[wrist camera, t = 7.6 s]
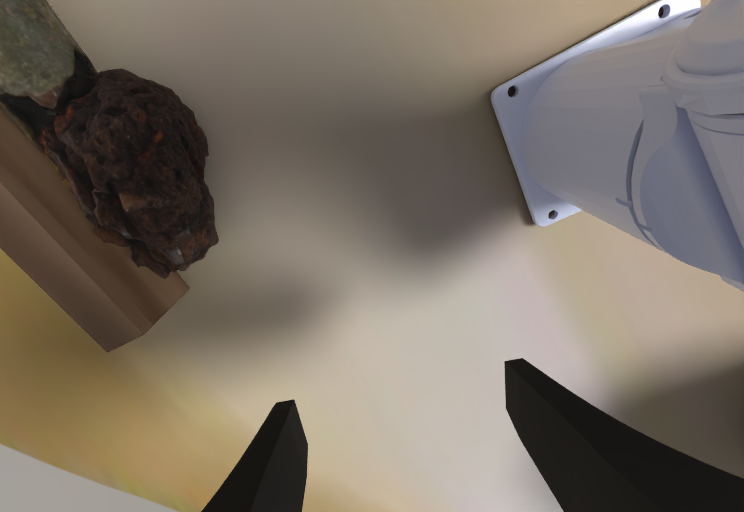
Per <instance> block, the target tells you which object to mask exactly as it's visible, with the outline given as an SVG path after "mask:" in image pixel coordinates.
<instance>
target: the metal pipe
mask: <svg viewBox="0 0 744 512" xmlns="http://www.w3.org/2000/svg"><path fill="white" fill-rule="evenodd" d="M0 108H1V109H2V110H3V111H4V112H5V113H6V115H7V116H8V117H9V118H10V119H11V120H12V121H13V122H14V123H15V124H16V125H17V126H18V127H19V128H20V130H21V131H22V132H23V133H24V134H25V135H26V136H27V137H28V138H29V139H30V141H31V142H32V143H33V144H34V145H35V146H36V147H37V148H38V149H39V150H40V151H41V153H42V154H44V155H45V156H46V157H47V158H48V159H49V160H50V162H51V163H52V164H53V165H54V167H55V169H56V171H57V173H58V175H59V177H60V178H61V180H62V182H63V184H64V185H65V186H66V187H67V189H68V190H69V191H70V192H71V193H72V194H73V195H74V196H75V197H76V199H77V201H78V203H79V206H80V209H81V210H83V211H85V212H86V213H87V215H86V218H87V219H88V220H89V221H90V222H91V223H93V224H94V225H95V226H94V229H93V231H92V233H93V234H95V235H96V236H97V237H99V238H100V239H101V240H102V241H103V242H104V243H111V244H115V245H117V246H120V247H130V250H131V251H132V254H131V259H132V261H133V262H134V263H135V264H136V265H137V267H138V268H139V267H140V266H145V267H147V268H149V269H150V270H151V271H153V272H154V273H155V274H157V275H158V276H160V277H162V278H164V279H166V278H167V277H168V276H169V274H170V272H171V271H172V272H174V273H175V272H176V271H177V270H180V271H185V270H186V269H187V268H188V267H189V266H190V265H191V264H192V263H194V262H196V261H199V260H201V259H203V258H204V257H205V254H206V252H207V251H208V249H209V248H210V247H211V246H213V245H215V244H217V243H218V240H219V239H218V235H217V232H216V229H215V224H214V222H215V217H214V201H213V198H212V196H211V195H210V193H209V189H208V186H207V185H206V184H205V182H204V167H205V157H206V156H208V155H209V154H208V145H207V139H206V136H205V134H204V132H203V130H202V129H201V128H200V127H199V126H198V125H197V122H196V120H195V116H194V113H193V111H192V110H190V109H189V108H188V107H187V106H186V105H184V104H183V103H182V102H181V100H180V98H179V96H177V95H176V94H175V93H174V92H173V91H172V90H171V89H169V88H167V87H165V86H162V85H159V84H157V83H155V82H154V81H150V80H145V79H143V78H140V77H138V76H137V75H135V74H133V73H131V72H129V71H127V70H124V69H114V70H107V71H103V72H100V73H98V72H96V70H95V68H94V67H93V65H92V63H91V61H90V60H89V58H88V57H87V56H86V54H85V53H84V52H83V50H82V49H81V48H80V46H79V45H78V44H77V42H76V41H75V40H74V38H73V37H72V36H71V34H70V33H69V32H68V30H67V29H66V28H65V26H64V25H63V24H62V22H61V21H60V19H59V18H58V17H57V15H56V14H55V12H54V11H53V9H52V8H51V6H50V5H49V4H48V2H47V1H46V0H0Z"/></svg>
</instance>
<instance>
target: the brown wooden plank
mask: <svg viewBox="0 0 744 512" xmlns="http://www.w3.org/2000/svg"><path fill="white" fill-rule="evenodd" d="M86 215H87V213H86V212H85V211H83V210H81V209H80V206H79V203H78V201H77V199H76V197H75V196H74V195H73V194H72V193H71V192H70V191H69V190H68V189H67V187H66V186H65V185H64V184H63V182H62V180H61V178H60V177H59V175H58V173H57V171H56V169H55V167H54V165H53V164H52V163H51V162H50V160H49V159H48V158H47V157H46V156H45V155H44V154H42V153H41V151H40V150H39V149H38V148H37V147H36V146H35V145H34V144H33V143H32V142H31V141H30V139H29V138H28V137H27V136H26V135H25V134H24V133H23V132H22V131H21V130H20V128H19V127H18V126H17V125H16V124H15V123H14V122H13V121H12V120H11V119H10V118H9V117H8V116H7V115H6V113H5V112H4V111H3V110H2V109H1V108H0V248H1V249H2V250H3V251H4V252H5V253H6V254H7V255H8V256H9V257H10V258H11V259H12V260H13V261H14V262H15V263H16V264H17V265H18V266H19V267H20V268H21V269H22V270H23V271H24V272H25V273H27V274H28V275H29V276H30V277H31V278H32V279H33V280H34V281H35V282H36V283H37V284H38V285H39V286H40V287H41V288H42V289H43V290H44V291H45V292H46V293H47V294H48V295H49V296H50V297H51V298H52V299H53V300H54V301H55V302H56V303H57V304H58V305H59V306H60V307H61V308H62V309H63V310H64V311H65V312H66V313H67V314H68V315H69V316H71V317H72V318H73V319H74V320H75V321H76V322H77V323H78V324H79V325H80V326H81V327H82V328H83V329H84V330H85V331H86V332H87V333H88V334H89V335H90V336H91V337H92V338H93V339H94V340H95V341H96V342H97V343H98V344H99V345H100V346H101V347H102V348H103V349H104V350H105V351H106V352H109V351H111V350H113V349H115V348H117V347H119V346H122V345H124V344H126V343H128V342H130V341H132V340H134V339H136V338H138V337H140V336H142V335H144V334H145V333H146V332H147V331H148V330H149V329H150V328H151V327H152V326H153V325H154V324H155V323H156V322H157V321H158V320H159V319H160V318H161V317H162V316H163V315H164V314H165V313H166V312H167V311H168V310H169V309H170V308H171V307H172V306H173V305H174V304H175V303H176V302H177V301H178V300H179V299H180V298H181V297H182V296H183V295H184V294H185V293H186V292H187V291H188V290H189V289H190V288H189V287H188V285H187V284H186V283H185V282H184V281H183V279H182V278H181V277H180V276H179V275H178V273H177V272H175V273H174V272H172V271H171V272H170V274H169V276H168V277H167V278H166V279H164V278H162V277H160V276H158V275H157V274H155V273H154V272H153V271H151V270H150V269H149V268H147V267H145V266H140V267H139V268H138V267H137V265H136V264H135V263H134V262H133V261H132V259H131V254H132V251H131V250H130V247H120V246H117V245H115V244H111V243H104V242H103V241H102V240H101V239H100V238H99V237H97V236H96V235H95V234H93V233H92V231H93V229H94V226H95V225H94V224H93V223H91V222H90V221H89V220H88V219H87V218H86Z"/></svg>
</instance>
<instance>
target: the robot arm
mask: <svg viewBox="0 0 744 512" xmlns="http://www.w3.org/2000/svg"><path fill="white" fill-rule="evenodd" d="M660 7H662V8H663V10H664V13H663V16H662V17H661V18H659V16H658V11H659V9H660ZM511 86H514V87H515V89H516V92H515V94H514V96H512V97H509V95H508V89H509V88H510V87H511ZM491 102H492V105H493V108H494V111H495V114H496V117H497V120H498V122H499V125H500V128H501V131H502V134H503V137H504V140H505V142H506V145H507V148H508V151H509V154H510V157H511V160H512V162H513V165H514V168H515V171H516V174H517V177H518V180H519V182H520V185H521V188H522V191H523V194H524V197H525V200H526V202H527V205H528V208H529V211H530V214H531V217H532V219H533V222H534V223H535V224H536V225H538V226H539V227H545V226H548V225H550V224H552V223H554V222H557V221H559V220H561V219H563V218H566V217H568V216H570V215H572V214H575V213H577V212H579V211H581V210H583V211H585V212H587V213H589V214H591V215H593V216H595V217H597V218H599V219H601V220H603V221H605V222H607V223H609V224H611V225H613V226H615V227H617V228H619V229H620V230H622V231H624V232H626V233H628V234H630V235H632V236H634V237H636V238H638V239H640V240H642V241H644V242H646V243H648V244H650V245H652V246H654V247H656V248H657V249H659V250H662V251H664V252H666V253H667V254H669V255H671V256H672V257H674V258H676V259H678V260H680V261H682V262H684V263H687V264H689V265H691V266H694V267H697V268H699V269H702V270H705V271H708V272H711V273H715V274H718V275H720V277H721V278H722V280H723V281H724V282H726V283H728V284H730V285H732V286H734V287H736V288H738V289H740V290H742V291H744V0H712V1H711V2H710V3H709V4H708V5H706V6H702V7H701V4H700V0H658V1H657V2H655V3H653V4H651V5H649V6H647V7H645V8H643V9H642V10H640V11H638V12H636V13H634V14H632V15H630V16H629V17H627V18H625V19H623V20H621V21H619V22H617V23H616V24H614V25H612V26H610V27H608V28H606V29H604V30H602V31H601V32H599V33H597V34H595V35H593V36H591V37H589V38H588V39H586V40H584V41H582V42H580V43H578V44H576V45H575V46H573V47H571V48H569V49H567V50H565V51H563V52H561V53H560V54H558V55H556V56H554V57H552V58H550V59H548V60H547V61H545V62H543V63H541V64H539V65H537V66H535V67H534V68H532V69H530V70H528V71H526V72H524V73H522V74H520V75H519V76H517V77H515V78H513V79H511V80H509V81H507V82H506V83H504V84H502V85H500V86H498V87H497V88H495V89H494V90H493V92H492V94H491ZM553 210H554V211H555V213H554V215H553V216H552V217H548V214H549V212H551V211H553ZM505 391H506V409H507V412H508V414H509V416H510V418H511V421H512V423H513V425H514V427H515V429H516V431H517V433H518V436H519V438H520V439H521V441H522V443H523V445H524V446H525V448H526V450H527V451H528V453H529V455H530V456H531V458H532V460H533V461H534V463H535V465H536V466H537V468H538V470H539V471H540V473H541V475H542V476H543V478H544V480H545V481H546V483H547V484H548V486H549V488H550V489H551V491H552V493H553V494H554V496H555V498H556V499H557V501H558V503H559V504H560V506H561V508H562V509H563V511H564V512H744V479H743V478H740V477H738V476H735V475H733V474H730V473H728V472H725V471H723V470H720V469H718V468H716V467H713V466H711V465H708V464H706V463H704V462H701V461H699V460H697V459H695V458H692V457H690V456H688V455H686V454H684V453H681V452H679V451H677V450H675V449H672V448H670V447H668V446H666V445H664V444H662V443H660V442H658V441H656V440H654V439H652V438H650V437H648V436H646V435H644V434H642V433H640V432H638V431H637V430H635V429H633V428H631V427H629V426H627V425H625V424H623V423H622V422H620V421H618V420H616V419H615V418H613V417H611V416H609V415H608V414H606V413H604V412H603V411H601V410H599V409H598V408H596V407H594V406H593V405H591V404H589V403H588V402H586V401H585V400H583V399H582V398H580V397H578V396H577V395H575V394H574V393H572V392H571V391H569V390H568V389H566V388H565V387H563V386H562V385H560V384H559V383H557V382H556V381H554V380H553V379H552V378H550V377H549V376H547V375H546V374H544V373H543V372H542V371H540V370H539V369H537V368H536V367H534V366H533V365H532V364H530V363H529V362H527V361H526V360H524V359H523V358H521V359H515V360H509V361H505ZM307 456H308V443H307V440H306V437H305V433H304V430H303V427H302V424H301V420H300V417H299V414H298V410H297V407H296V404H295V400H289V401H283V402H278V403H276V404H275V405H274V407H273V408H272V410H271V411H270V413H269V415H268V416H267V418H266V420H265V421H264V423H263V424H262V426H261V428H260V429H259V431H258V433H257V434H256V436H255V437H254V439H253V440H252V442H251V443H250V445H249V447H248V448H247V450H246V451H245V453H244V454H243V456H242V457H241V459H240V460H239V462H238V463H237V465H236V466H235V467H234V469H233V470H232V472H231V473H230V474H229V476H228V477H227V479H226V480H225V481H224V483H223V484H222V485H221V487H220V488H219V490H218V491H217V492H216V494H215V495H214V496H213V497H212V499H211V500H210V501H209V503H208V504H207V505H206V506H205V508H204V509H203V510H202V511H201V512H302V506H303V499H304V492H305V485H306V478H307Z"/></svg>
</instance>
